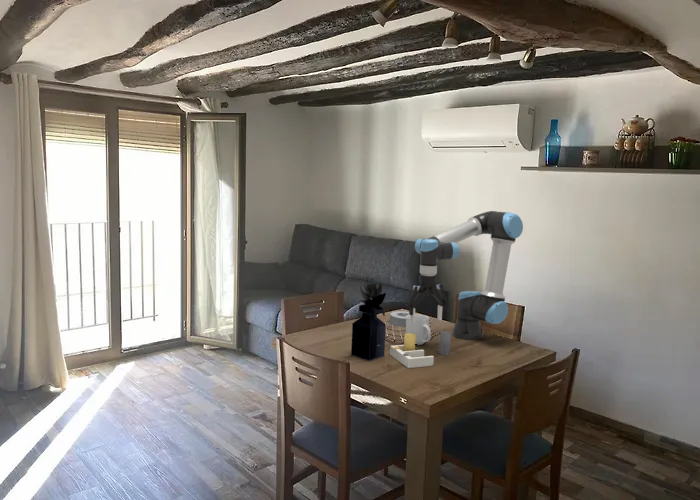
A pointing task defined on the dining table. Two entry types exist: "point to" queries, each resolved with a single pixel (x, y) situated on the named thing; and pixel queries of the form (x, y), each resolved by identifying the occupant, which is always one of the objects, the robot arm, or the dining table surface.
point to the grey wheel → (398, 318)
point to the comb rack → (411, 357)
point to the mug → (419, 328)
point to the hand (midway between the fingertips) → (426, 320)
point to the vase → (369, 325)
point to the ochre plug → (409, 342)
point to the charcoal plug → (444, 342)
